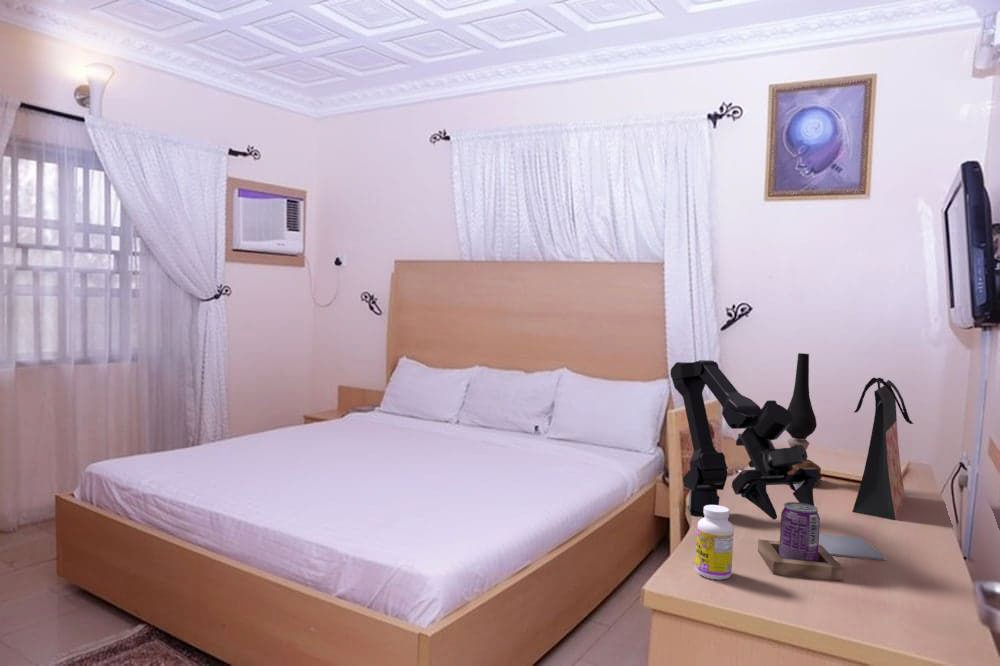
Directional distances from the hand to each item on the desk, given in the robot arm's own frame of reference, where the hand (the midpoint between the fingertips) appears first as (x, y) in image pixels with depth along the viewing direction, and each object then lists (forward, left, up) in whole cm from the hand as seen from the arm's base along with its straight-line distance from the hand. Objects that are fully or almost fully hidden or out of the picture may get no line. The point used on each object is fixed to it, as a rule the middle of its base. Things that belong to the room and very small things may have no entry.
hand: (794, 517), depth 134 cm
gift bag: (+35, +49, -9) cm, 61 cm away
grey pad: (+14, +12, -9) cm, 21 cm away
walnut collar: (+1, -2, -9) cm, 9 cm away
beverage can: (+1, -2, -9) cm, 10 cm away
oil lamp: (+21, +70, -9) cm, 74 cm away
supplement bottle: (-17, -11, -9) cm, 22 cm away
